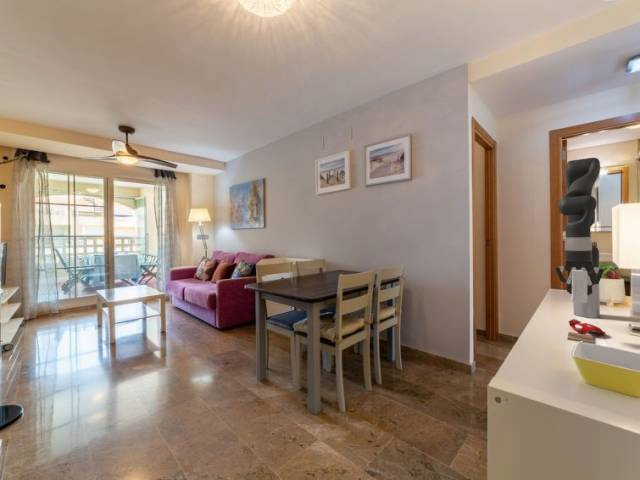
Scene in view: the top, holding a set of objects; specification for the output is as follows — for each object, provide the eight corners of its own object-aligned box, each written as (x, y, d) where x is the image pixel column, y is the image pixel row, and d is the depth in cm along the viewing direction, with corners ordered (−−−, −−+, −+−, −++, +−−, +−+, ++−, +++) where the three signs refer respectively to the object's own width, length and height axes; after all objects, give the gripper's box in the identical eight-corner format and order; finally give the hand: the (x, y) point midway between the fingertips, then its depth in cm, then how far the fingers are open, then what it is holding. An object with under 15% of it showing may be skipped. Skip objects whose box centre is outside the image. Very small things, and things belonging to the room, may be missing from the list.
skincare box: (571, 299, 110) (570, 268, 110) (587, 300, 107) (586, 268, 107) (572, 302, 105) (571, 270, 105) (588, 303, 102) (587, 270, 102)
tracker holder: (609, 331, 110) (603, 328, 105) (605, 341, 110) (599, 339, 105) (570, 317, 120) (563, 314, 115) (566, 327, 120) (559, 324, 115)
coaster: (568, 333, 112) (568, 331, 112) (593, 337, 107) (593, 335, 107) (567, 339, 105) (567, 337, 105) (593, 344, 101) (593, 342, 101)
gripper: (604, 248, 104) (605, 295, 104) (554, 248, 114) (555, 290, 114) (605, 249, 99) (606, 298, 99) (552, 249, 108) (553, 293, 109)
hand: (579, 294), depth 106 cm, fingers closed on skincare box, 4 cm apart
